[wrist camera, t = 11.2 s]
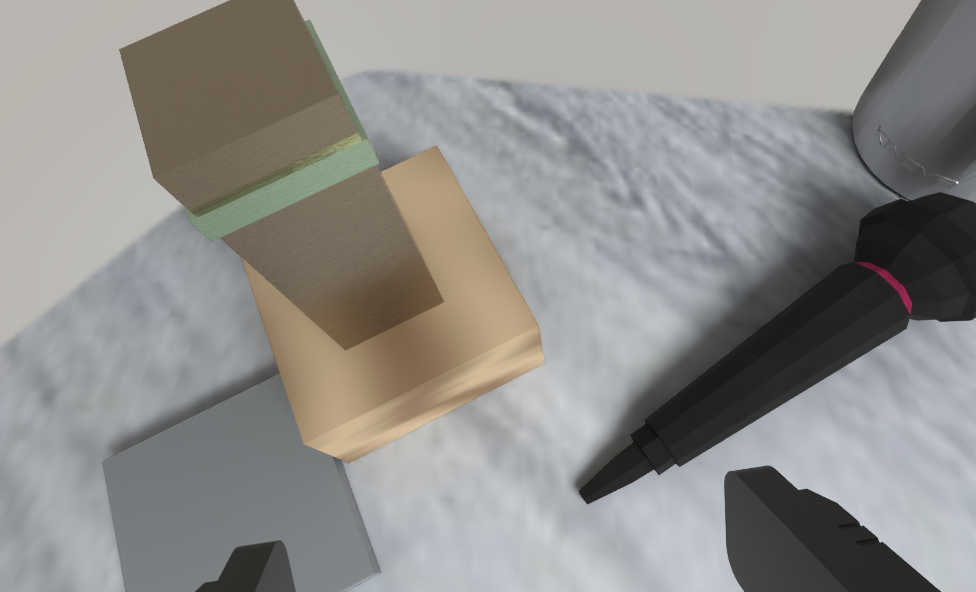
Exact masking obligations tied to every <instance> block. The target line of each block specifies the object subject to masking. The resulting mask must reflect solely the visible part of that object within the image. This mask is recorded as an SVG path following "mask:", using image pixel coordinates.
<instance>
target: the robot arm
mask: <svg viewBox="0 0 976 592" xmlns="http://www.w3.org/2000/svg"><path fill="white" fill-rule="evenodd" d="M852 128H853V135H854V142H855V144H856V146H857V149H858V151H859V153H860V156H861V158H862V159H863V160H864V162H865V163H866V164H867V166H868V167H869V169H870V170H871V171H872V173H874V174H875V175H876V176H877V177H878V178H879V179H880V180H881V181H882V182H883V183H884V184H886V185H887V186H888V187H889V188H891V189H893V190H894V191H896V192H897V193H899V194H901V195H902V196H904V197H905V198H907V199H910V200H914V199H917V198H920V197H922V196H926V195H930V194H934V193H938V192H942V193H946V194H949V195H953V196H956V197H960V198H963V199H967V200H970V201H973V202H975V203H976V0H921V2H920V3H919V5H918V7H917V8H916V10H915V11H914V13H913V15H912V16H911V18H910V19H909V21H908V22H907V24H906V26H905V27H904V29H903V30H902V32H901V34H900V35H899V37H898V38H897V39H896V41H895V43H894V44H893V46H892V48H891V49H890V51H889V52H888V54H887V55H886V57H885V59H884V60H883V62H882V63H881V65H880V67H879V68H878V70H877V72H876V73H875V75H874V76H873V78H872V80H871V81H870V83H869V84H868V86H867V88H866V89H865V91H864V92H863V94H862V96H861V97H860V100H859V102H858V104H857V106H856V108H855V110H854V116H853V123H852ZM724 491H725V521H726V547H727V554H728V559H729V562H730V565H731V568H732V571H733V573H734V576H735V578H736V580H737V581H738V583H739V585H740V586H741V588H742V589H743V590H744V592H941V591H940V590H938V589H937V588H936V587H935V586H934V585H932V584H931V583H930V582H929V581H928V580H927V579H925V578H924V577H923V576H922V575H921V574H920V573H918V572H917V571H916V570H915V569H914V568H913V567H911V566H910V565H909V564H908V563H907V562H906V561H904V560H903V559H902V558H901V557H900V556H898V555H897V554H896V553H895V552H894V551H893V550H891V549H890V548H889V547H888V546H887V545H886V544H884V543H883V542H881V543H880V542H879V540H878V538H877V537H876V536H875V535H874V534H873V533H872V532H870V531H869V530H868V529H867V528H866V527H864V526H860V524H859V521H857V520H856V519H855V518H854V517H853V516H852V515H850V514H849V513H848V512H847V511H846V510H845V509H843V508H842V507H841V506H840V505H839V504H837V503H836V502H834V501H832V500H829V499H827V498H825V497H823V496H821V495H819V494H817V493H815V492H813V491H811V490H809V489H802V490H798V489H797V488H796V487H794V486H793V485H792V484H791V483H790V482H789V481H788V480H787V479H786V478H785V477H783V476H782V475H781V474H780V473H779V472H778V471H777V470H776V469H774V468H773V467H771V466H762V467H755V468H749V469H742V470H736V471H730V472H728V473H727V474H726V476H725V481H724ZM195 592H296V589H295V585H294V581H293V576H292V572H291V567H290V563H289V558H288V554H287V550H286V547H285V545H284V543H283V542H282V541H281V540H278V541H271V542H265V543H258V544H252V545H245V546H239V547H236V548H235V549H234V550H233V552H232V554H231V556H230V558H229V560H228V561H227V563H226V565H225V567H224V569H223V571H222V573H221V575H220V577H219V579H218V581H212V582H205V583H203V584H202V585H201V586H200V587H199V588H198V589H197V590H196V591H195Z"/></svg>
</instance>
